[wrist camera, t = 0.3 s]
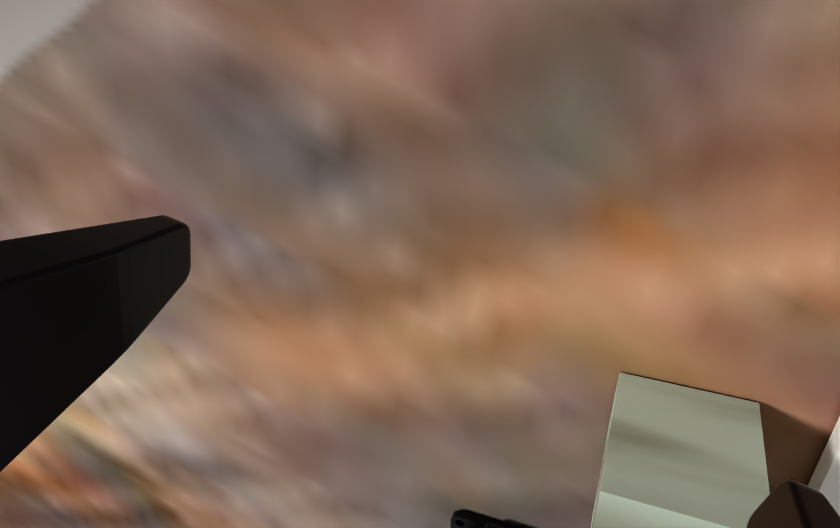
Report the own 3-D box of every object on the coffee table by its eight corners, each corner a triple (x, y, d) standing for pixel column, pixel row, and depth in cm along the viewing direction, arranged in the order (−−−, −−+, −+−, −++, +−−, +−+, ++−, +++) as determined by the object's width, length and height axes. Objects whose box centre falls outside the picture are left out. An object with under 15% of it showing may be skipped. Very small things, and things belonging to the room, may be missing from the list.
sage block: (726, 492, 25) (733, 632, 21) (602, 459, 27) (581, 582, 22) (759, 402, 23) (775, 539, 18) (619, 372, 24) (600, 490, 20)
